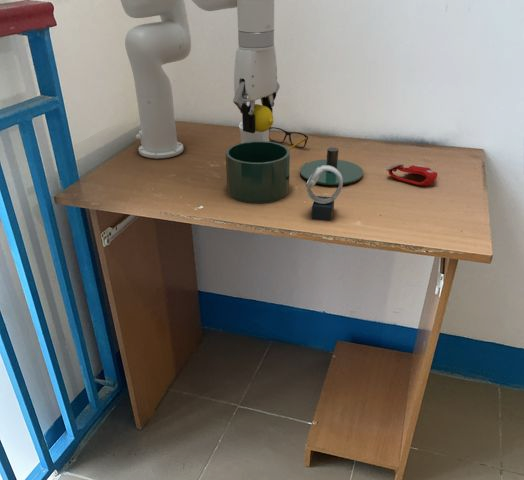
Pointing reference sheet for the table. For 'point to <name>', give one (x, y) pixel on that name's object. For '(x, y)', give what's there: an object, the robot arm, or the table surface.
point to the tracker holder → (415, 170)
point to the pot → (257, 171)
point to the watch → (322, 205)
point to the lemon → (262, 118)
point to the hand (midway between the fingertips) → (257, 127)
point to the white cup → (253, 135)
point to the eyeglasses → (290, 138)
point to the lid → (346, 169)
